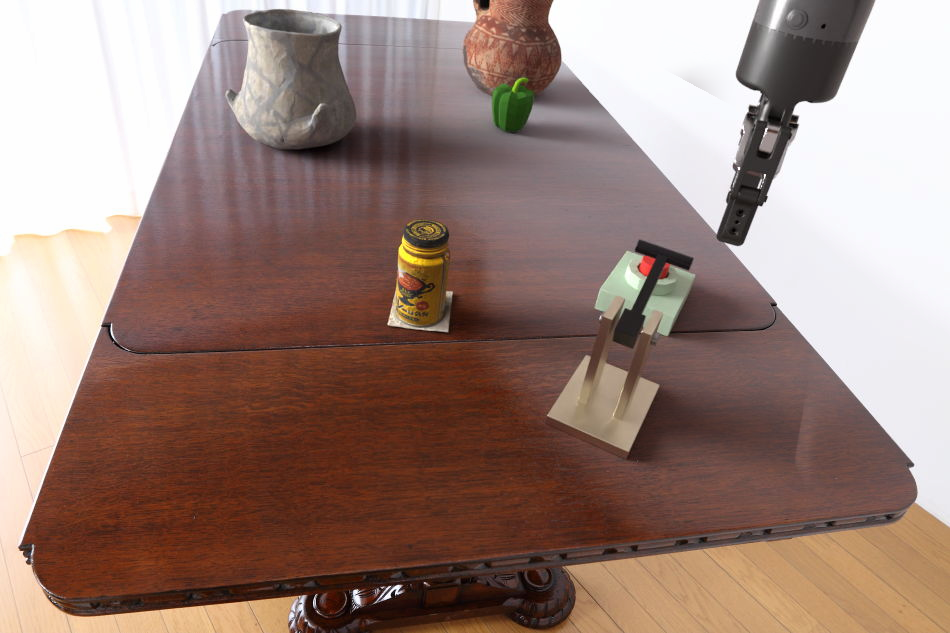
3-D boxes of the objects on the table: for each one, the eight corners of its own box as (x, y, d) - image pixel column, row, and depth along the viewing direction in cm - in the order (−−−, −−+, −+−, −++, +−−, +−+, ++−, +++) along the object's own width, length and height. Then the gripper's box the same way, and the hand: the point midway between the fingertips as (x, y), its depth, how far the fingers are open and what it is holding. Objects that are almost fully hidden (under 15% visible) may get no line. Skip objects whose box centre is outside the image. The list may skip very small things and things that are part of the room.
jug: (559, 86, 163) (582, -29, 148) (547, 114, 146) (571, -12, 131) (470, 68, 166) (483, -46, 151) (448, 94, 149) (460, -31, 134)
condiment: (387, 326, 81) (392, 240, 74) (396, 286, 88) (401, 204, 81) (447, 333, 81) (458, 248, 74) (452, 293, 88) (462, 211, 81)
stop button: (643, 261, 92) (646, 250, 90) (669, 271, 90) (673, 260, 89) (635, 273, 89) (639, 262, 88) (662, 283, 88) (666, 272, 87)
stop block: (621, 269, 98) (630, 239, 95) (689, 293, 95) (700, 263, 92) (594, 308, 89) (603, 277, 86) (667, 337, 86) (679, 305, 83)
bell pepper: (492, 134, 133) (499, 84, 127) (485, 119, 140) (491, 69, 134) (533, 137, 135) (542, 87, 129) (524, 121, 141) (533, 73, 135)
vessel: (248, 108, 129) (239, -6, 117) (365, 123, 130) (367, 12, 118) (208, 154, 112) (193, 26, 100) (343, 171, 113) (344, 47, 101)
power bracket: (583, 362, 80) (609, 271, 73) (657, 392, 78) (691, 301, 70) (544, 423, 71) (569, 327, 64) (626, 460, 69) (662, 364, 61)
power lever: (638, 247, 74) (640, 233, 72) (691, 265, 73) (696, 252, 70) (594, 334, 69) (596, 322, 67) (651, 356, 67) (654, 345, 65)
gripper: (868, 52, 43) (774, 270, 52) (855, 21, 54) (779, 205, 64) (748, 28, 45) (677, 243, 54) (759, 3, 56) (699, 184, 65)
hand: (733, 222), depth 59 cm, fingers open, 8 cm apart
